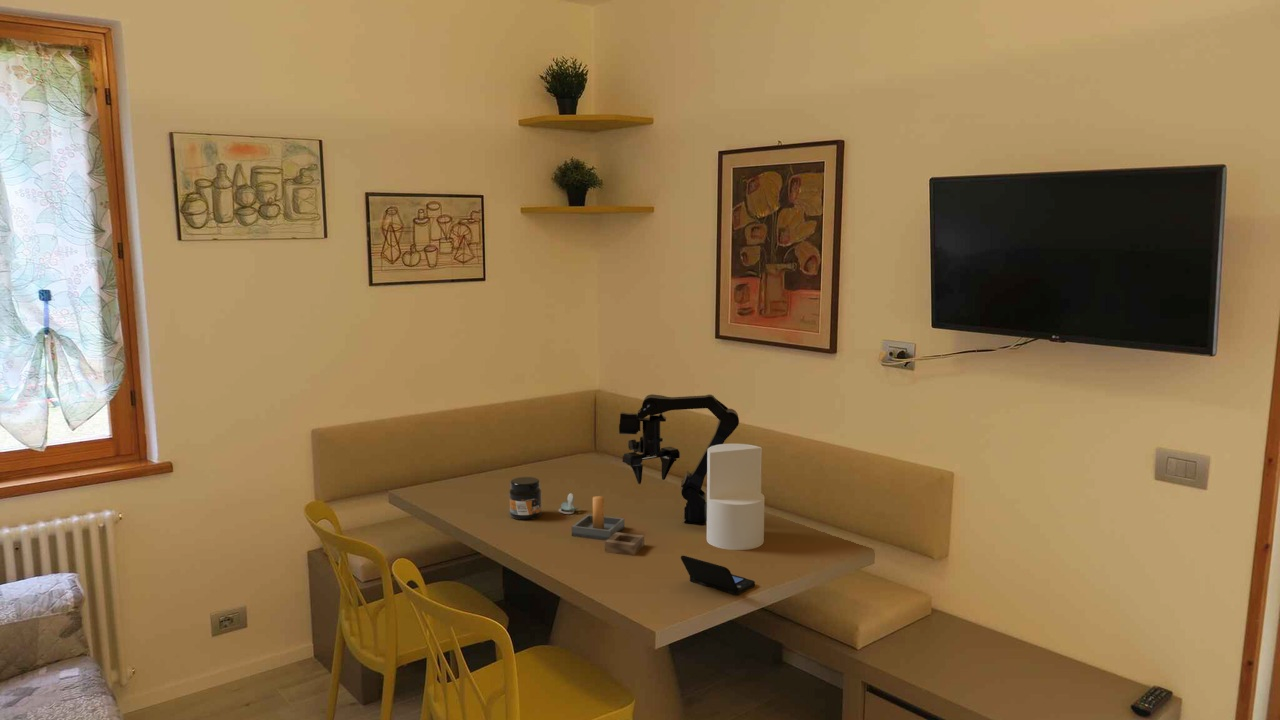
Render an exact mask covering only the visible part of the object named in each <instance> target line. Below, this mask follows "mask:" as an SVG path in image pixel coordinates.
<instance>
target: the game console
mask: <svg viewBox="0 0 1280 720" xmlns="http://www.w3.org/2000/svg"><path fill="white" fill-rule="evenodd" d="M680 560H681V562H682V564H683V565H684V567H685V570H686V571H687V574H688V575H689V581H690V582H691V583H693V584H697V585H700V586H703V587H706V588H707V587H708V588H714V589H716V590H718V591H721V592H722V593H723V592H724V593H726V594H730V595H732V596H739V595H740V594H742V593H744V592H746V591H748V590H750V589H752V588H753V587H755V585H756V581H754V580H753V579H749V578H746V577H743V576H739V575H735V574H733V573H731V570H730V569H729V568H727V567H726V566H723V565H720V564H719V565H718V564H716V563H711V562H708V561H705V560H700V559H698V558H694V557H690V556H687V555H681V556H680Z"/></svg>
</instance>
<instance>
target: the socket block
mask: <svg viewBox="0 0 1280 720" xmlns="http://www.w3.org/2000/svg"><path fill="white" fill-rule="evenodd" d="M644 546H645V535H642V534H635V533H633V534H632V533H626V532H616V533H615V534H613V535H612V536H611V537H610V538H609V539H608V540H604V552H605V551H606V552H607V553H612V552H613V553H612V554H621V555H629V556H635V555H636V554H637V553H638V552H639V550H641V549H642V548H643V547H644ZM606 552H605V553H606Z"/></svg>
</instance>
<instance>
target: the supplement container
mask: <svg viewBox="0 0 1280 720" xmlns="http://www.w3.org/2000/svg"><path fill="white" fill-rule="evenodd" d="M509 481H510V482H509V483H510V488H509V491H508V494H509V495H508V496H509V515H510V517H511V518H513V519H515V520H519V519H522V520H521V521H523V520H525V521H526V520H527V519H529V520H533V518H534V519H536V518H538V517H540V516H541V514H542V489H541V487H540V479H539V478H537V477H533V476H519V477H515V478H512V479H511V480H509ZM527 521H528V520H527Z"/></svg>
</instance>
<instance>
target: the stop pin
mask: <svg viewBox="0 0 1280 720" xmlns="http://www.w3.org/2000/svg"><path fill="white" fill-rule="evenodd" d="M592 515H593V528H595V529H604V516H605V497H604V496H602V495H597V496H596V495H595V496H592Z"/></svg>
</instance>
